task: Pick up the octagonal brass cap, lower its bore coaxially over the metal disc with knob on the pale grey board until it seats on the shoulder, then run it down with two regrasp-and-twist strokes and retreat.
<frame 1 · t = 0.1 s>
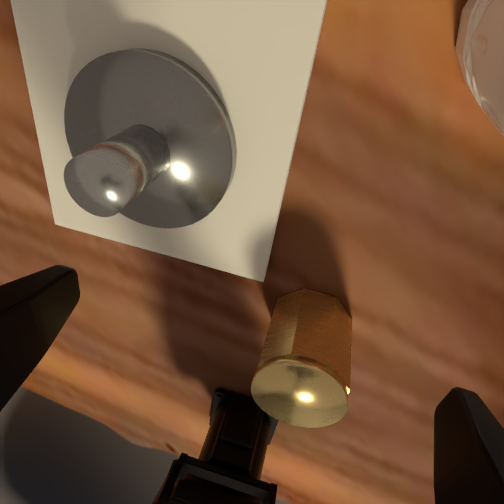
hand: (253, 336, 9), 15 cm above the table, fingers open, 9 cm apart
cap: (310, 319, 28), on the table
board: (161, 124, 22), on the table
metal disc with knob: (155, 144, 22), resting on board
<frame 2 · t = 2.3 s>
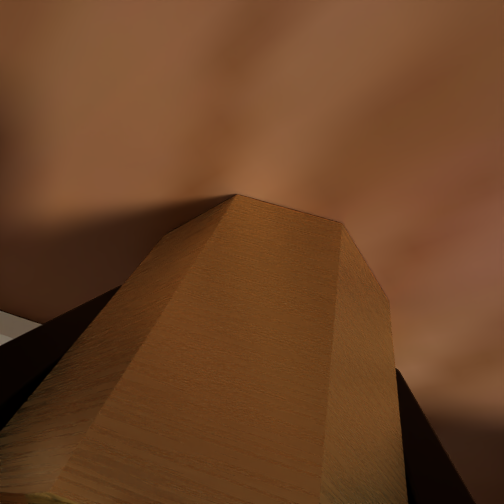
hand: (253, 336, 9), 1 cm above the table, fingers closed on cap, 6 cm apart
cap: (264, 301, 9), on the table, touching gripper
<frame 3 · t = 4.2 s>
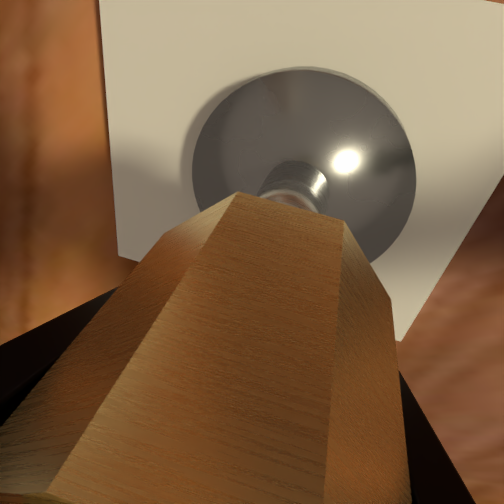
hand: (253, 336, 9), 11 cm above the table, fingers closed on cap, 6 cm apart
cap: (264, 300, 9), point 10 cm above the table, touching gripper
board: (282, 170, 18), on the table
metal disc with knob: (299, 182, 18), resting on board
when the fingers open (4 cm above the table, at t = 6.3 s): cap stays where it is, resting on metal disc with knob.
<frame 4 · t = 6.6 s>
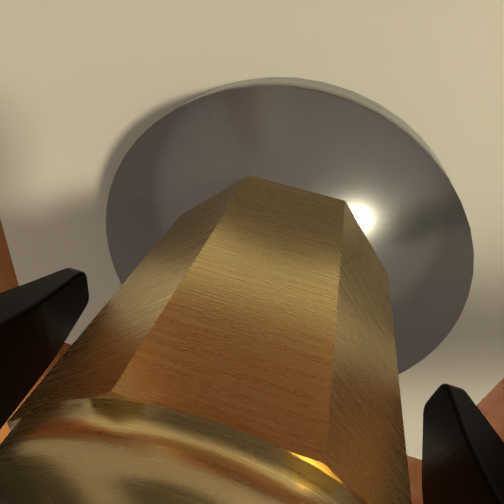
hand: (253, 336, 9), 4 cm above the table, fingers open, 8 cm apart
cap: (272, 277, 10), point 2 cm above the table, touching metal disc with knob
board: (252, 233, 12), on the table
metal disc with knob: (277, 255, 11), resting on board
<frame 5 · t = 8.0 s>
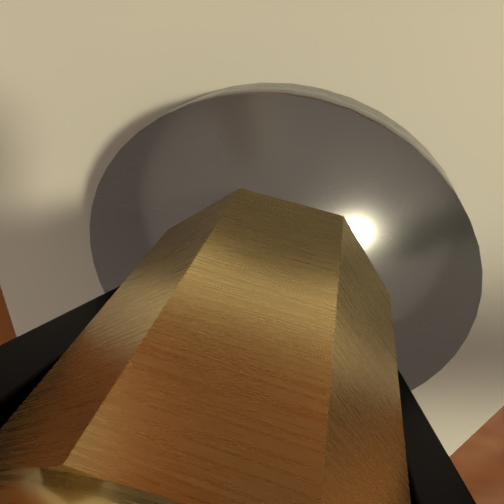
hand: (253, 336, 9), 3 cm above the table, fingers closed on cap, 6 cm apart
cap: (266, 294, 10), point 2 cm above the table, touching metal disc with knob, gripper
board: (246, 245, 11), on the table
metal disc with knob: (272, 270, 11), resting on board
when the fingers open (4 cm above the table, at t = 9.3 s): cap stays where it is, resting on metal disc with knob.
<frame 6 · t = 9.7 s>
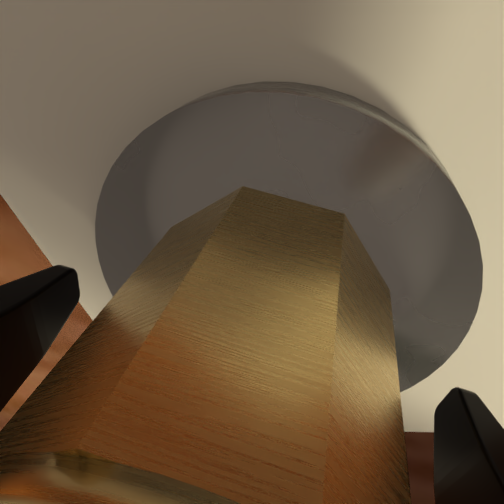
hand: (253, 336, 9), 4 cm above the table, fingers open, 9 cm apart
cap: (268, 291, 10), point 2 cm above the table, touching metal disc with knob
board: (270, 224, 11), on the table
metal disc with knob: (275, 267, 11), resting on board
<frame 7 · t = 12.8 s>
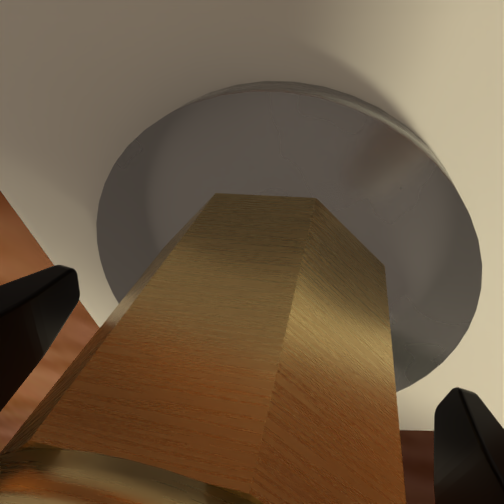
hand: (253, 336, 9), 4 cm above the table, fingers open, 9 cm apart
cap: (268, 291, 10), point 2 cm above the table, touching metal disc with knob
board: (270, 223, 11), on the table
metal disc with knob: (276, 265, 11), resting on board
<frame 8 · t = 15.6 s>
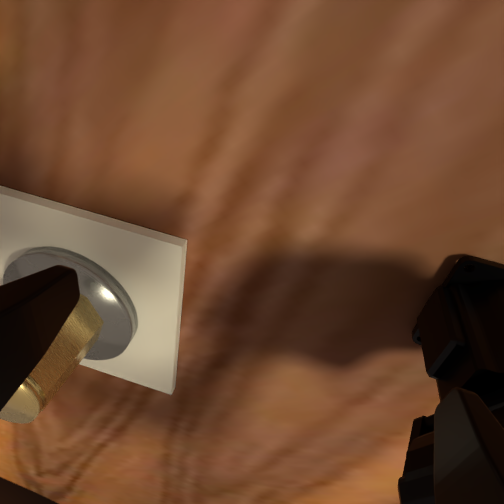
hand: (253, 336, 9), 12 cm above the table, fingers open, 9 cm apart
cap: (65, 312, 27), point 2 cm above the table, touching metal disc with knob
board: (71, 291, 28), on the table
metal disc with knob: (76, 302, 28), resting on board
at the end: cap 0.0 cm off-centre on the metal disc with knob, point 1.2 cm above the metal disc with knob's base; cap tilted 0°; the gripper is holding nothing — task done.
